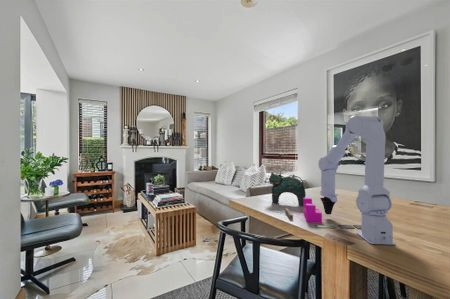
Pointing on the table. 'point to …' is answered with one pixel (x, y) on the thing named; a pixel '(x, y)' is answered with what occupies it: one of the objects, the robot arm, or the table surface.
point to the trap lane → (325, 224)
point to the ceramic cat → (287, 187)
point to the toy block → (311, 212)
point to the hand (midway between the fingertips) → (328, 214)
